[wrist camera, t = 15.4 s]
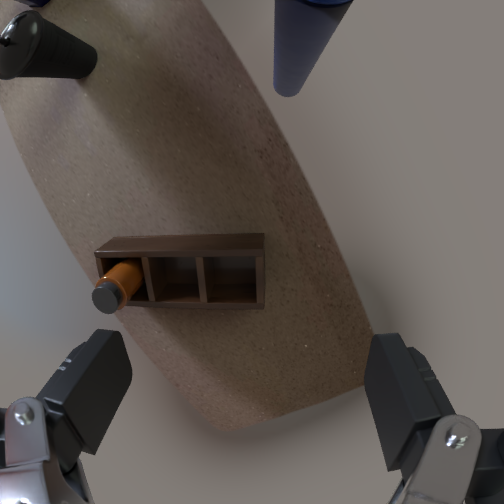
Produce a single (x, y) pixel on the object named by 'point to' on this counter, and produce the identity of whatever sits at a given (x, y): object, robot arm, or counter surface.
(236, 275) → the holder
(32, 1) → the bottle
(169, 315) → the counter surface
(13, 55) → the drinking cup
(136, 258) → the spice bottle
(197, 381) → the counter surface
